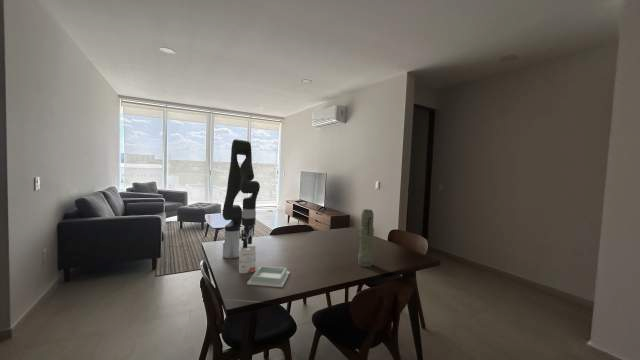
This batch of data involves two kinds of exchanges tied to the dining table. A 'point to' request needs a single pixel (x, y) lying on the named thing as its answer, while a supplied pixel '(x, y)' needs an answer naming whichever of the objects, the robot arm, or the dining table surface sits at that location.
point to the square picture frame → (269, 276)
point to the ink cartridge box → (247, 260)
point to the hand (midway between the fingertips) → (247, 245)
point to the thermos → (366, 239)
